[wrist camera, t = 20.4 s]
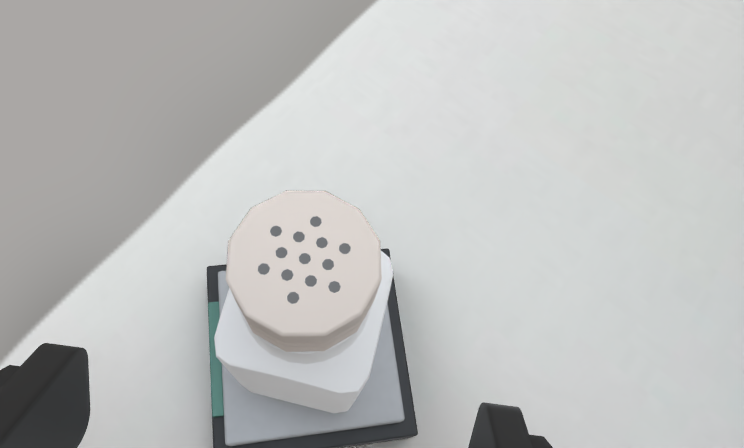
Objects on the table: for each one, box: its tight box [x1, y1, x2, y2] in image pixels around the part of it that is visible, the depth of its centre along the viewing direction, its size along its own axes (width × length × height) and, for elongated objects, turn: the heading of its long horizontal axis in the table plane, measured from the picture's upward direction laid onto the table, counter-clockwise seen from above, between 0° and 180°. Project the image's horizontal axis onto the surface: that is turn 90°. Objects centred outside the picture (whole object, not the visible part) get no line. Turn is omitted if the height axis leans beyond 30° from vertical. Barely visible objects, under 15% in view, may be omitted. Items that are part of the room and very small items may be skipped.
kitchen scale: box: [207, 249, 418, 448], centre depth 22 cm, size 7×7×3 cm
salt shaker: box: [214, 191, 394, 413], centre depth 16 cm, size 4×4×10 cm
